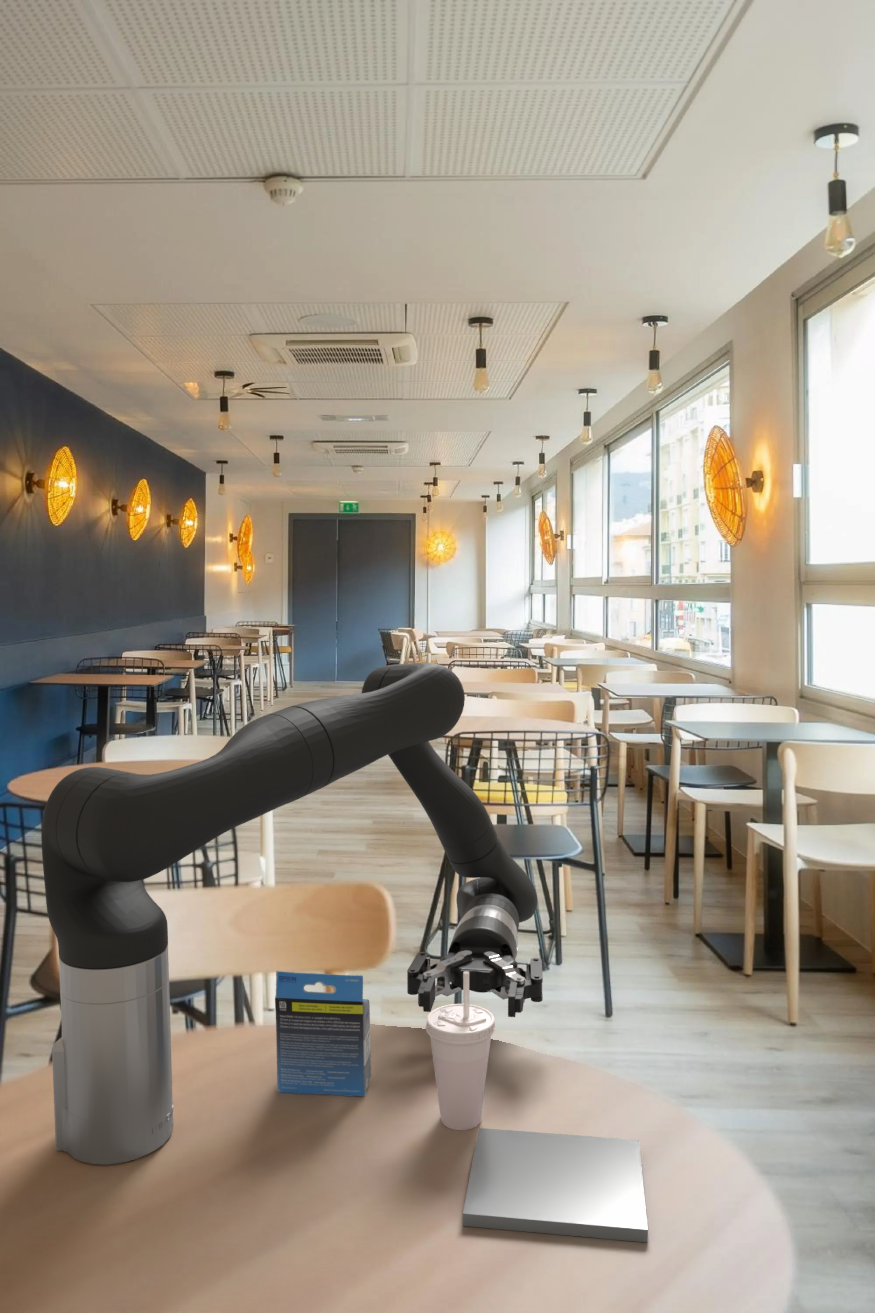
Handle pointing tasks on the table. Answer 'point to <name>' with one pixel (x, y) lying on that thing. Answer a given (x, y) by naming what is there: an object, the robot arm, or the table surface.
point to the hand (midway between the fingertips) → (468, 1005)
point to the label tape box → (322, 1035)
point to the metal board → (557, 1185)
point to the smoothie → (460, 1059)
